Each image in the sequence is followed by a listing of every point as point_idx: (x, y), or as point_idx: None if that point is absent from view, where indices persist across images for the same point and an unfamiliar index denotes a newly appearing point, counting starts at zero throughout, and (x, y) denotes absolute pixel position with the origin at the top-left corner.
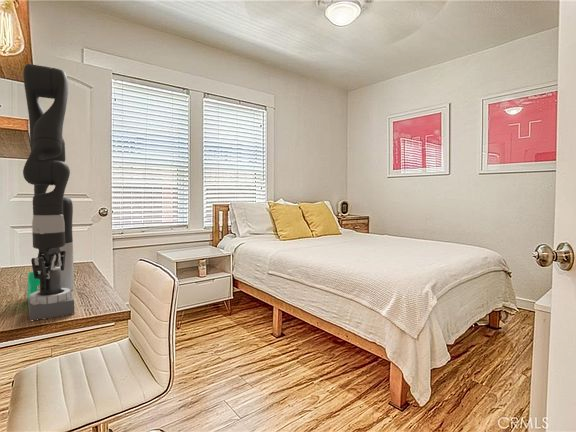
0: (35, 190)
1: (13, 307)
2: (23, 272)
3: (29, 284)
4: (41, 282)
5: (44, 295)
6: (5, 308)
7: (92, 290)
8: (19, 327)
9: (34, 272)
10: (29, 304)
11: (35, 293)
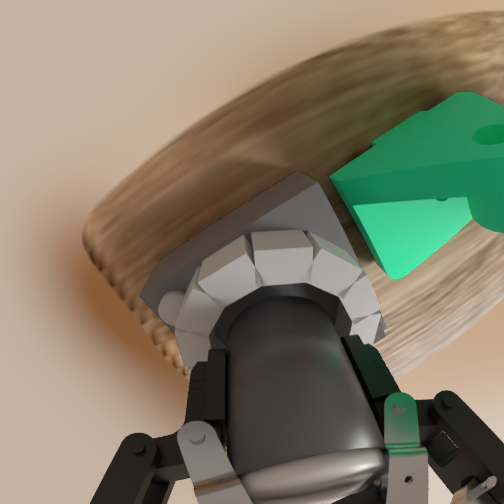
0: None
1: (374, 67)
2: None
3: (465, 136)
4: (189, 414)
5: (227, 340)
6: (361, 41)
7: (493, 275)
8: (105, 256)
9: (108, 479)
10: (180, 269)
11: (266, 278)
